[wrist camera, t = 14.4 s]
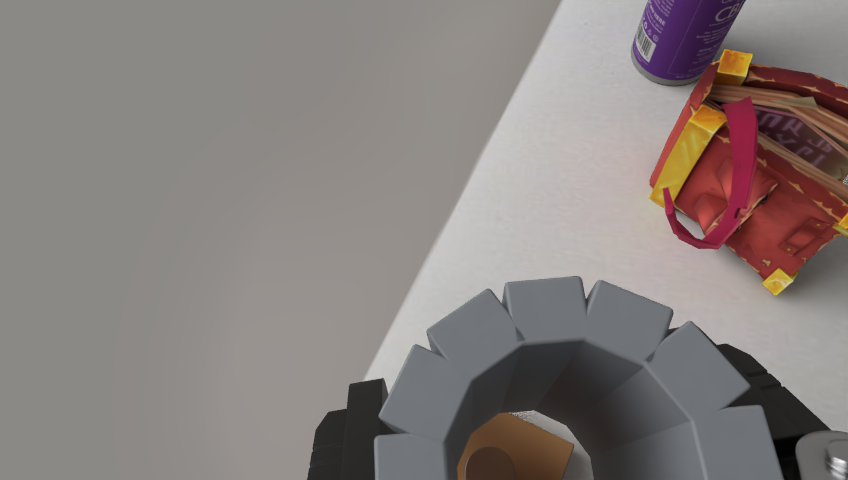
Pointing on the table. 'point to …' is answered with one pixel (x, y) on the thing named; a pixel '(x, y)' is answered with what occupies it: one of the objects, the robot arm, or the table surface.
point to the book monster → (759, 165)
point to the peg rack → (513, 452)
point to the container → (681, 38)
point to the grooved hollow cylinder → (576, 387)
